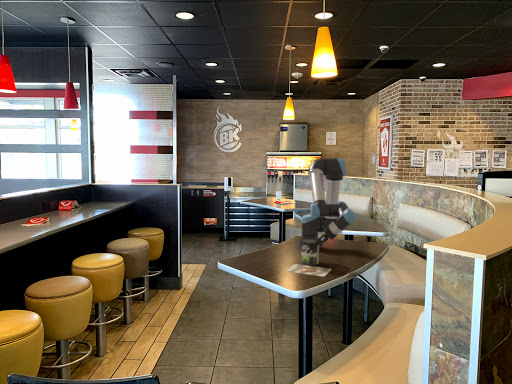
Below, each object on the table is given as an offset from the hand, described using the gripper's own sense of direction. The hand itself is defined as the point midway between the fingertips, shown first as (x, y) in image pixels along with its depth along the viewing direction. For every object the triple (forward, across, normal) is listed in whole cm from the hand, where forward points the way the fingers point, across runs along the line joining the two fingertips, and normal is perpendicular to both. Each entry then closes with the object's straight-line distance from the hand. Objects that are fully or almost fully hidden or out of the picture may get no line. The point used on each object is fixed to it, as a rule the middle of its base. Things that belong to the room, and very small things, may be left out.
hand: (307, 253), depth 231 cm
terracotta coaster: (0, -15, -8) cm, 17 cm away
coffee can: (+3, 0, -6) cm, 7 cm away
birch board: (0, -15, -9) cm, 17 cm away
